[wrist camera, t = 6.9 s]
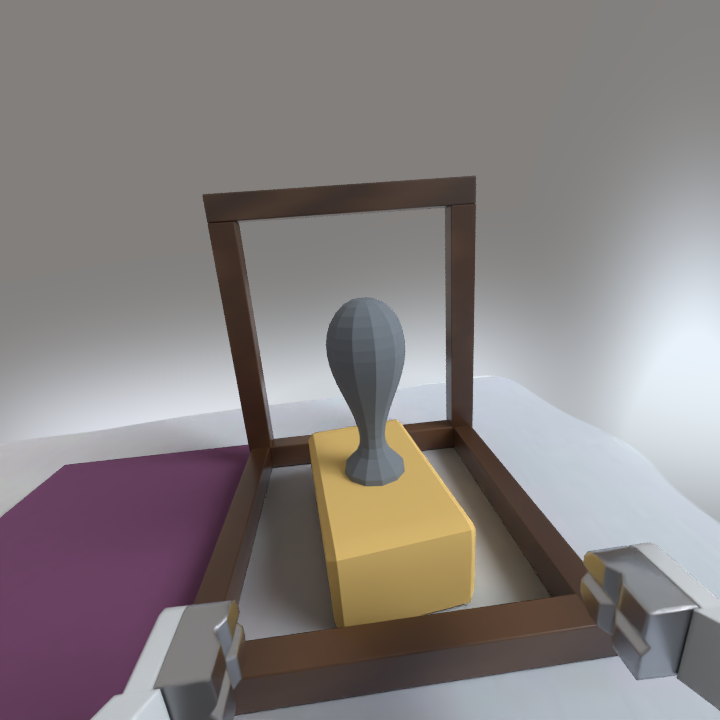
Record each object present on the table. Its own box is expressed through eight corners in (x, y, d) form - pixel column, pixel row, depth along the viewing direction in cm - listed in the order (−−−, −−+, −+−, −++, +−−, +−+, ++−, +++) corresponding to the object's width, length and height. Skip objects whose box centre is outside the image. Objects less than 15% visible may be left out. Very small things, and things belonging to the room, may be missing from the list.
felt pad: (-553, 988, 8) (-569, 981, 8) (66, 469, 27) (64, 464, 27) (107, 871, 9) (103, 862, 9) (257, 448, 28) (256, 443, 28)
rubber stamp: (478, 601, 15) (486, 306, 11) (336, 639, 14) (297, 327, 10) (401, 467, 24) (392, 282, 21) (313, 483, 23) (288, 292, 20)
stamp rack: (166, 726, 12) (-60, 74, 6) (256, 460, 26) (208, 197, 21) (629, 654, 13) (750, 37, 7) (466, 436, 27) (468, 179, 22)
